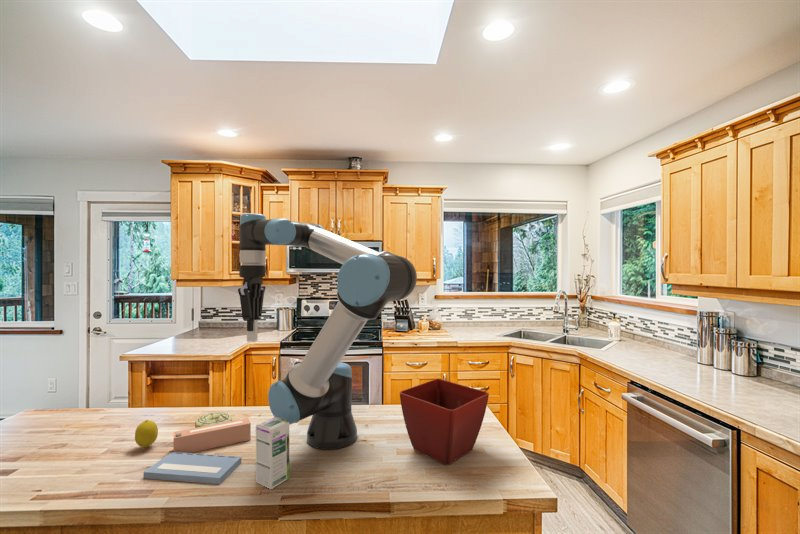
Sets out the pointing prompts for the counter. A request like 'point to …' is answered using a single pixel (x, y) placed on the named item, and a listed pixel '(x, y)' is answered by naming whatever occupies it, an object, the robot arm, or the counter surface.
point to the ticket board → (193, 467)
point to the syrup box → (272, 452)
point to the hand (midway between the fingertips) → (252, 341)
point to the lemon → (146, 433)
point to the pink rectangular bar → (212, 436)
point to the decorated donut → (212, 419)
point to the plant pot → (443, 418)
